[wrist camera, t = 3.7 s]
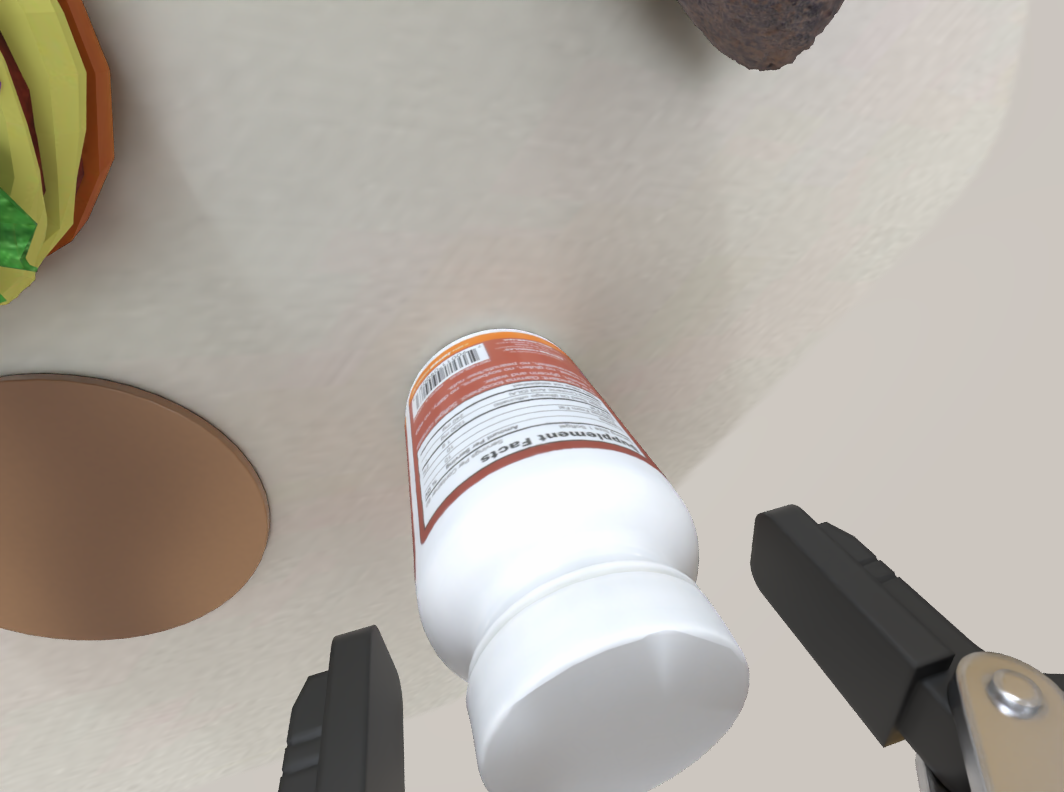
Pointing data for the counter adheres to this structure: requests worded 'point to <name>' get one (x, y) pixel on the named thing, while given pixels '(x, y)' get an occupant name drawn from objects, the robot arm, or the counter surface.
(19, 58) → the cheeseburger
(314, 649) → the counter surface
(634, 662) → the pill bottle
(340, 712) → the robot arm
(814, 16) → the perforated stone tool
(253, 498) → the coaster
